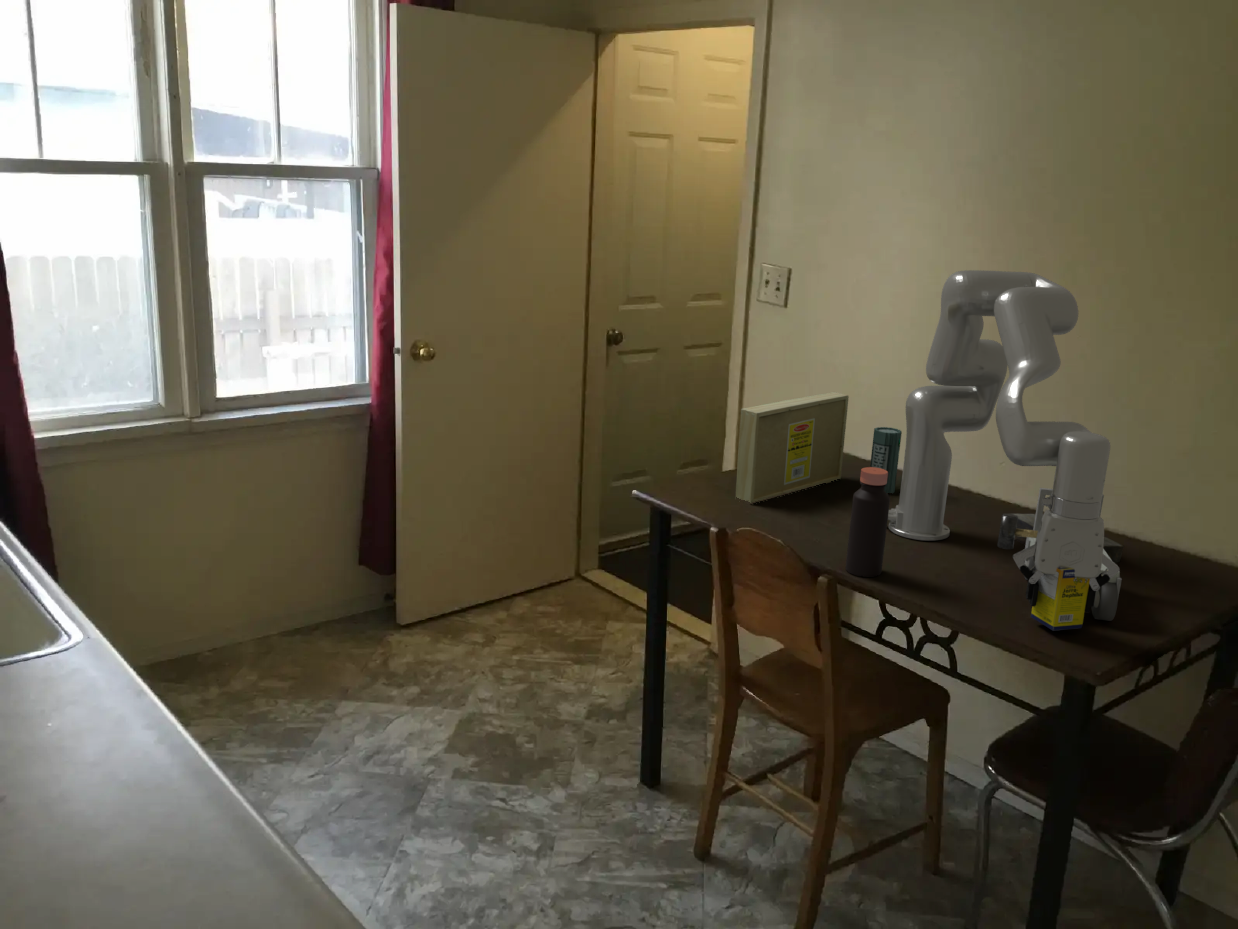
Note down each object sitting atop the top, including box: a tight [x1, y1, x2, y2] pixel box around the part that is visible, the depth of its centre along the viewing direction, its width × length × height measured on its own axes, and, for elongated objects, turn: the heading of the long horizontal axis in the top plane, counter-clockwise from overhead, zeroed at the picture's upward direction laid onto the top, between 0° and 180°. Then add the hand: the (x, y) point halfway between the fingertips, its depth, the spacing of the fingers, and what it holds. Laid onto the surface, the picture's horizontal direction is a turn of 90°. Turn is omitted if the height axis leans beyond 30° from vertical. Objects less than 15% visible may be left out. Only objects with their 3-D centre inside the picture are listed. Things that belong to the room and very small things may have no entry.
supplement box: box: [1030, 560, 1090, 632], centre depth 175 cm, size 6×6×11 cm
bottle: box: [845, 466, 891, 578], centre depth 196 cm, size 7×7×20 cm
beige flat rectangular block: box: [735, 391, 850, 503], centre depth 246 cm, size 35×5×22 cm, turn 133°
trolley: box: [1023, 487, 1123, 622], centre depth 188 cm, size 13×23×18 cm, turn 168°
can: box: [869, 426, 902, 494], centre depth 250 cm, size 6×6×15 cm
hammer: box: [997, 513, 1038, 550], centre depth 192 cm, size 12×3×6 cm, turn 78°
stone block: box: [1013, 513, 1125, 564], centre depth 217 cm, size 14×20×5 cm
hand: (1058, 606), depth 176 cm, fingers closed on supplement box, 7 cm apart
